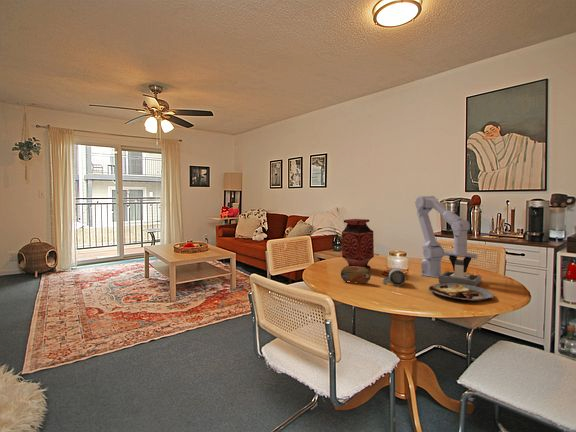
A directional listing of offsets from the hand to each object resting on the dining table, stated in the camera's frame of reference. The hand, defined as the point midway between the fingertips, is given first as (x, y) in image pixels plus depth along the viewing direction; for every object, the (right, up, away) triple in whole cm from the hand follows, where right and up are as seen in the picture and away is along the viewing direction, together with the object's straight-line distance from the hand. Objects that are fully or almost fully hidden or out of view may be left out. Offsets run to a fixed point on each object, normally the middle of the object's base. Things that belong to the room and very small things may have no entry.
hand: (460, 271), depth 158 cm
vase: (-43, -5, +35) cm, 56 cm away
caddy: (0, -6, 0) cm, 6 cm away
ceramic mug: (-33, -7, +1) cm, 33 cm away
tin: (-51, -7, +5) cm, 52 cm away
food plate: (-10, -8, -18) cm, 22 cm away
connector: (0, -4, 0) cm, 4 cm away
